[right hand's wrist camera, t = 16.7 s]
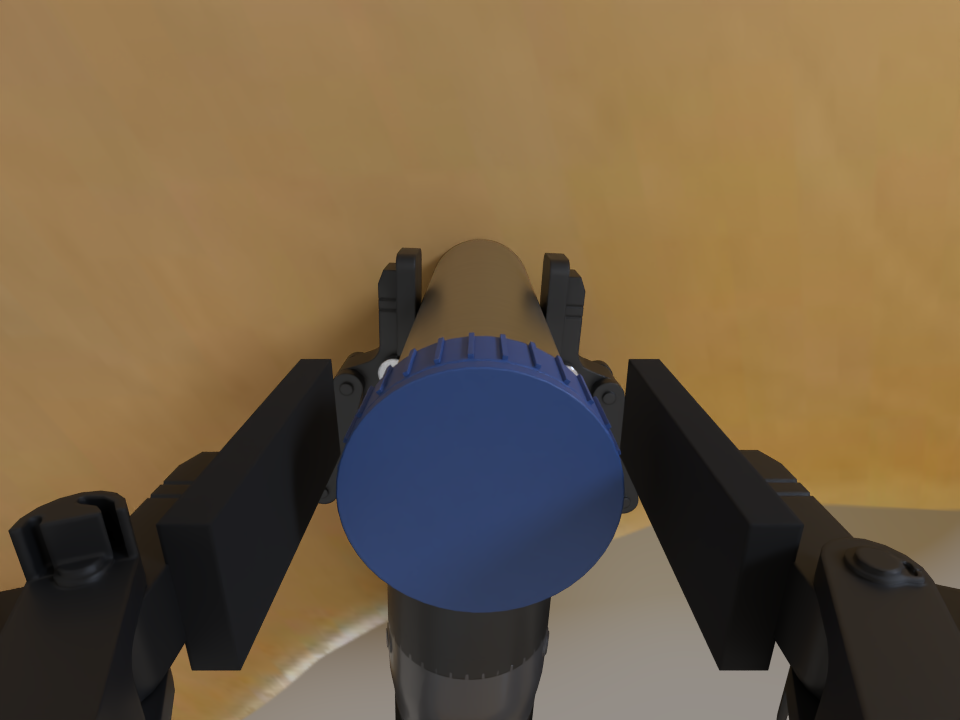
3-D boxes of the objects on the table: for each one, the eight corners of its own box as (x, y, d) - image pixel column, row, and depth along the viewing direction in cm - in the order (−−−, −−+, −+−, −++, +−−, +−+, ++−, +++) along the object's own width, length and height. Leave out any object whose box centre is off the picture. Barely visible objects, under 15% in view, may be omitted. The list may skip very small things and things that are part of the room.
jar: (476, 217, 26) (470, 320, 10) (549, 285, 27) (651, 476, 11) (411, 292, 27) (311, 491, 11) (483, 353, 28) (487, 615, 12)
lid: (356, 550, 13) (337, 611, 11) (348, 324, 11) (324, 355, 9) (591, 559, 13) (607, 621, 11) (624, 338, 11) (650, 371, 9)
